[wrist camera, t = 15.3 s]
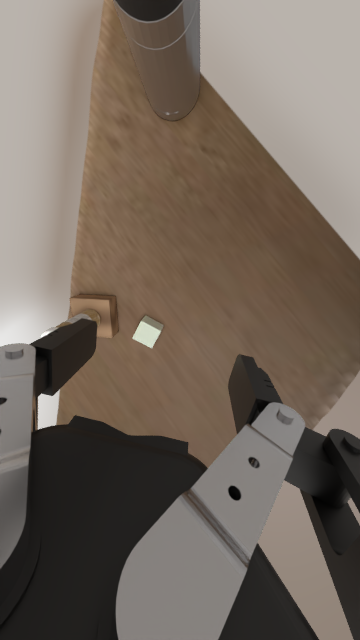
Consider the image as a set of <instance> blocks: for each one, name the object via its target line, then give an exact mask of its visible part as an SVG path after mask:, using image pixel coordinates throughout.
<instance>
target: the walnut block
mask: <svg viewBox="0 0 360 640" xmlns="http://www.w3.org/2000/svg"><path fill="white" fill-rule="evenodd" d="M70 304H71V311H72V317H74V316H76V315H78V314H81V313H82V312H84V311H85V310H88V309H90V310H94V311H96V312H97V313H98V314H99V316H100V324H99V326H98V327H97V337H107V338H113V337H114V336H115V335H116V334H117V332H118V331H119V330H118V317H117V304H116V296H104V295H84V294H79V295H76V296H74V297H71V298H70Z"/></svg>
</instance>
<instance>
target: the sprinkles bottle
mask: <svg viewBox="0 0 360 640" xmlns="http://www.w3.org/2000/svg"><path fill="white" fill-rule="evenodd" d="M81 318H84V319H89V320H93V321H96V322H97V327H98V326H99V324H100V316H99V314H98V313H97V312H96V311H94V310H90V309H88V310H85V311H84V312H82V313H81V314H78V315H76V316H74V317H72V318H70V319H69V320H67V321H65V322H63V323H61V324H60V325H58V326H56V327H54V328H51V329H48V330H47V331H45V332H43V333H42V334H41V336H40V338H42V337H43V336H45V335H48V334H49V333H50V332H53V331H54V330H56V329H58V328H59V327H62V326H65V325H69V324H73V323H74V322H76V321H78V320H79V319H81Z"/></svg>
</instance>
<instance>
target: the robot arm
mask: <svg viewBox="0 0 360 640" xmlns="http://www.w3.org/2000/svg"><path fill="white" fill-rule="evenodd" d="M113 2H114V5H115V8H116V10H117V13H118V16H119V19H120V21H121V24H122V27H123V30H124V33H125V35H126V38H127V41H128V44H129V47H130V49H131V52H132V55H133V58H134V61H135V63H136V66H137V69H138V72H139V75H140V77H141V80H142V83H143V86H144V89H145V92H146V94H147V97H148V100H149V102H150V105H151V107H152V108H153V110H154V111H155V113H156V114H157V115H158V116H160V117H161V118H163V119H166V120H171V121H174V120H179V119H181V118H183V117H185V116H186V115H187V114H188V113H189V112H190V111H191V110H192V109H193V107H194V105H195V103H196V101H197V98H198V96H199V90H200V0H113ZM96 338H97V322H96V321H93V320H89V319H84V318H81V319H79V320H78V321H76V322H74V323H73V324H69V325H65V326H62V327H59V328H58V329H56V330H54V331H53V332H50V333H49V334H48V335H45V336H43V337H42V338H40V339H38V340H36V341H35V342H33V343H31V344H29V345H28V344H20V343H19V344H10V345H5V346H2V347H0V640H319V639H318V637H317V636H316V634H315V632H314V631H313V629H312V628H311V626H310V625H309V623H308V621H307V620H306V618H305V617H304V615H303V614H302V612H301V610H300V609H299V607H298V606H297V604H296V603H295V601H294V600H293V598H292V597H291V595H290V593H289V592H288V590H287V589H286V587H285V585H284V584H283V582H282V581H281V579H280V577H279V576H278V574H277V573H276V571H275V570H274V568H273V567H272V565H271V563H270V562H269V560H268V559H267V557H266V555H265V554H264V552H263V551H262V549H261V548H260V546H259V544H258V543H257V542H258V540H259V537H260V535H261V533H262V530H263V528H264V526H265V523H266V521H267V518H268V516H269V514H270V512H271V509H272V507H273V504H274V502H275V500H276V497H277V495H278V493H279V490H280V488H281V486H282V483H283V481H284V480H285V481H287V482H289V483H290V484H292V485H294V486H296V487H298V488H299V489H300V491H301V494H302V496H303V499H304V502H305V505H306V508H307V510H308V513H309V516H310V519H311V522H312V524H313V527H314V530H315V533H316V535H317V538H318V541H319V544H320V547H321V549H322V552H323V555H324V558H325V561H326V563H327V566H328V569H329V571H330V574H331V577H332V580H333V583H334V586H335V589H336V591H337V594H338V597H339V600H340V602H341V605H342V608H343V611H344V614H345V616H346V619H347V622H348V625H349V627H350V630H351V633H352V636H353V639H354V640H360V526H359V523H358V522H357V520H356V518H355V516H354V514H353V512H352V510H351V508H350V507H349V505H348V503H347V502H348V500H349V499H350V498H352V500H353V502H354V503H355V505H356V507H357V509H358V510H359V513H360V439H358V438H357V437H355V436H354V435H352V434H350V433H348V432H346V431H343V430H339V429H332V430H330V432H329V433H328V435H327V436H323V435H321V434H319V433H317V432H315V431H313V430H311V429H308V428H306V427H305V423H304V420H303V419H302V417H301V416H300V415H299V414H298V413H297V412H296V411H294V410H293V409H292V408H290V407H288V406H286V405H284V404H283V403H282V401H281V399H280V397H279V395H278V393H277V391H276V389H275V388H274V386H273V384H272V383H271V380H270V378H269V376H268V374H266V373H265V372H264V371H263V370H262V369H261V368H258V367H257V365H256V363H255V360H254V358H253V357H249V356H244V355H240V354H239V355H238V356H237V358H236V361H235V364H234V367H233V370H232V373H231V376H230V379H229V384H228V389H229V395H230V400H231V405H232V410H233V415H234V421H235V426H236V431H237V436H236V437H235V438H234V439H233V440H232V441H231V443H230V444H229V445H228V446H227V447H226V448H225V450H224V451H223V452H222V453H221V454H220V455H219V456H218V458H217V459H216V460H215V461H214V462H213V463H212V465H211V466H210V467H209V468H207V467H206V466H205V465H204V464H203V463H202V462H201V461H200V460H198V459H197V458H195V457H194V456H192V455H191V454H189V453H188V442H184V441H180V440H176V439H172V438H167V437H163V436H130V435H127V434H125V433H123V432H121V431H119V430H117V429H115V428H113V427H111V426H109V425H108V424H106V423H104V422H101V421H97V420H92V419H88V418H84V417H80V416H76V415H75V416H74V417H73V419H72V420H71V421H70V423H69V424H67V425H55V426H50V427H46V428H42V429H39V430H38V429H37V428H38V396H39V395H40V394H41V393H42V394H46V395H51V396H53V395H54V394H55V393H56V392H57V391H58V390H59V389H60V388H61V387H62V386H63V385H64V384H65V383H66V382H67V381H68V380H69V379H70V378H71V377H72V376H73V375H74V374H75V373H76V372H77V371H78V370H79V369H80V368H81V367H82V366H83V365H84V364H85V363H86V362H87V361H88V360H89V359H90V358H91V357H92V356H93V354H94V352H95V349H96Z"/></svg>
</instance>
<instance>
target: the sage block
mask: <svg viewBox="0 0 360 640" xmlns="http://www.w3.org/2000/svg"><path fill="white" fill-rule="evenodd" d="M163 326H164V325H163V324H161V323H159V322H157V321H155V320H153V319H151V318H150V317H148V316H146V315H145V317H144V318H143V319H142V320H141V322H140V324H139V326H138V328H137V330H136V332H135V334H134V336H133V339H135V340H137V341H139V342H140V343H142V344H144V345H146V346H148V347H150V348H152V347H153V345H154V343H155V341H156V339H157V338H158V336H159V334H160V332H161V330H162V328H163Z"/></svg>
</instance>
